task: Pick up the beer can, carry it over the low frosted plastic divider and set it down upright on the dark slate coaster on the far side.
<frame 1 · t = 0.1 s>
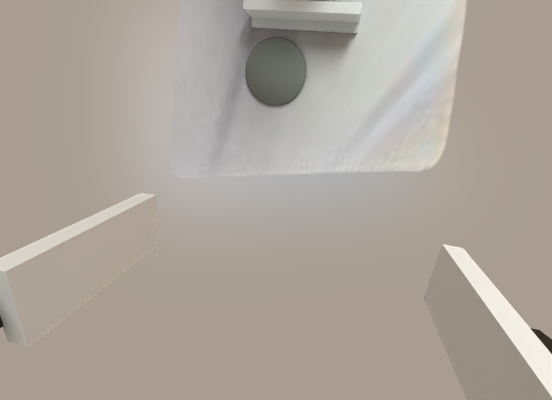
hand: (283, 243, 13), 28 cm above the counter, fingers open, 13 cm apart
coaster: (275, 72, 36), on the counter
divider: (304, 16, 34), on the counter
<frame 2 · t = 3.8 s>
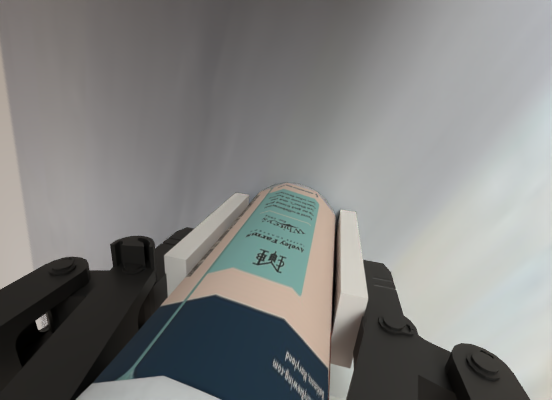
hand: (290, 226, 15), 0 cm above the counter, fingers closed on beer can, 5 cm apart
divider: (248, 316, 18), on the counter
beer can: (292, 221, 15), on the counter, touching gripper
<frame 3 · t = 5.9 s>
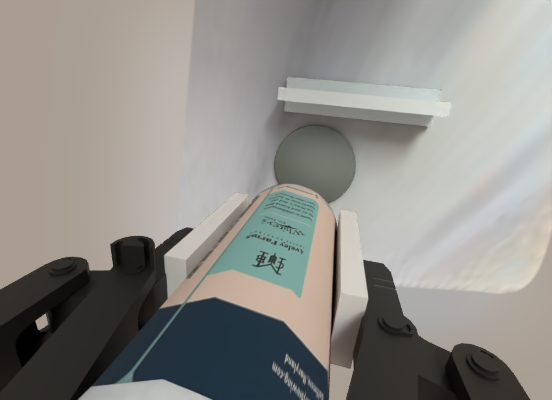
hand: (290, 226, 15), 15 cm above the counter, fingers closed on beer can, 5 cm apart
coaster: (314, 166, 28), on the counter
divider: (356, 101, 25), on the counter
beer can: (292, 222, 15), point 14 cm above the counter, touching gripper
when the fingers open (2 cm above the counter, at t = 8.3 s): beer can drops 1 cm, resting on coaster.
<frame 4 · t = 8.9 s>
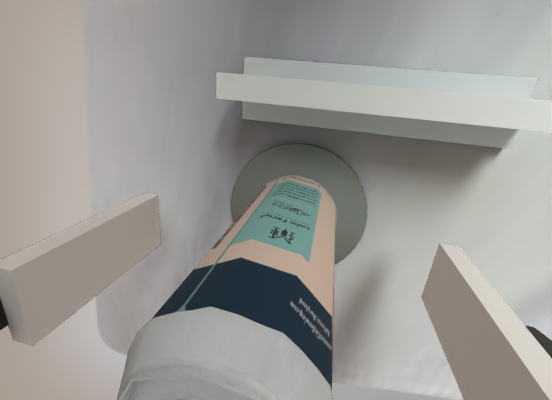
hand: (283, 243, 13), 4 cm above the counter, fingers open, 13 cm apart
coaster: (296, 210, 17), on the counter
divider: (370, 101, 14), on the counter
beer can: (296, 211, 16), resting on coaster
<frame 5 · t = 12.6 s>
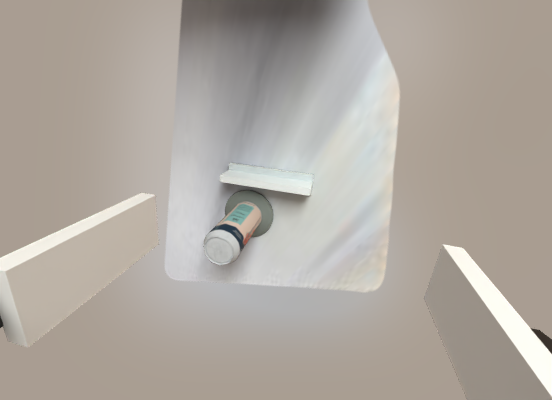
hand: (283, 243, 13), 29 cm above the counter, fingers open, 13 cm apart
coaster: (249, 213, 45), on the counter
divider: (270, 177, 42), on the counter
beer can: (248, 213, 45), resting on coaster
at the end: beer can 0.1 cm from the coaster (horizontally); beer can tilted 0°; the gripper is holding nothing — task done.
